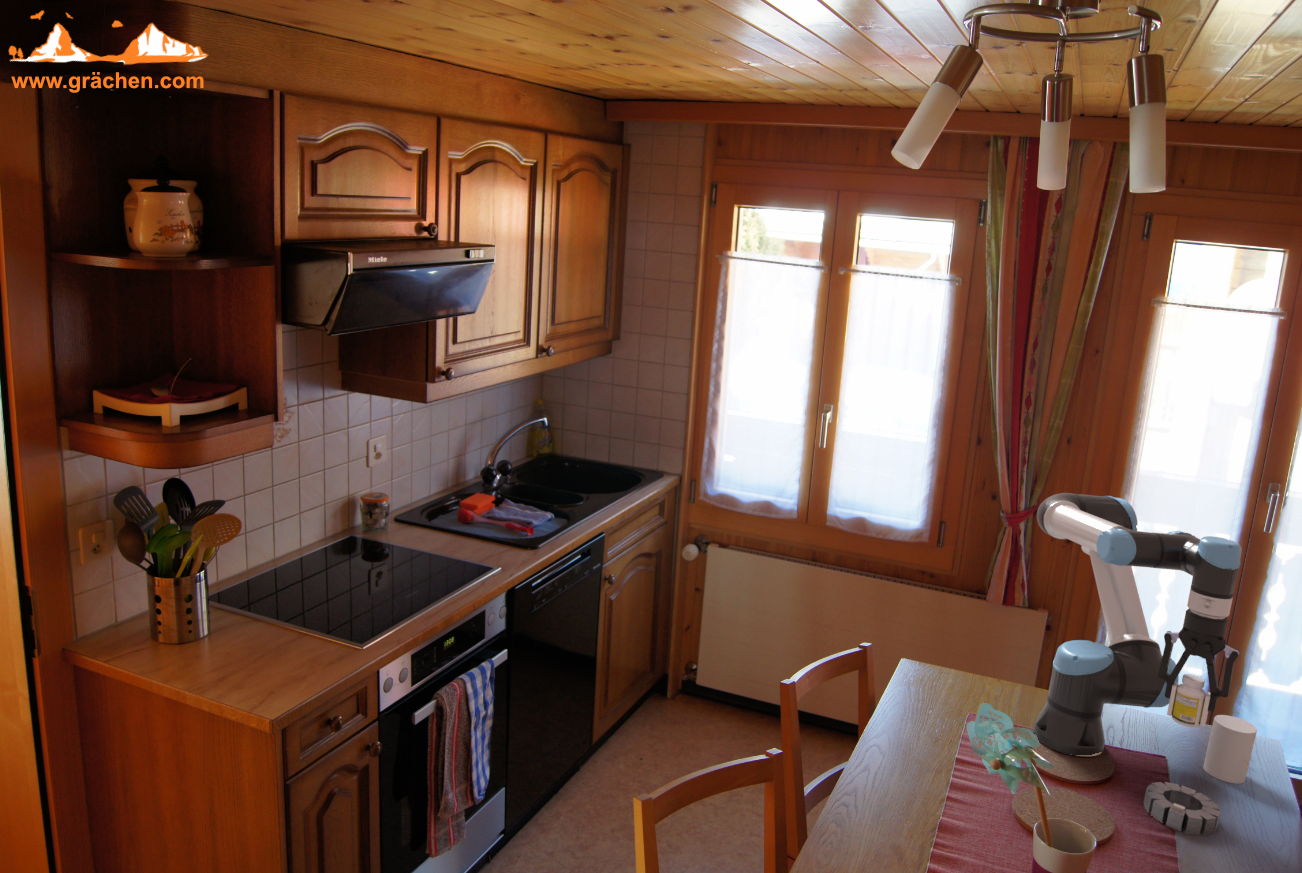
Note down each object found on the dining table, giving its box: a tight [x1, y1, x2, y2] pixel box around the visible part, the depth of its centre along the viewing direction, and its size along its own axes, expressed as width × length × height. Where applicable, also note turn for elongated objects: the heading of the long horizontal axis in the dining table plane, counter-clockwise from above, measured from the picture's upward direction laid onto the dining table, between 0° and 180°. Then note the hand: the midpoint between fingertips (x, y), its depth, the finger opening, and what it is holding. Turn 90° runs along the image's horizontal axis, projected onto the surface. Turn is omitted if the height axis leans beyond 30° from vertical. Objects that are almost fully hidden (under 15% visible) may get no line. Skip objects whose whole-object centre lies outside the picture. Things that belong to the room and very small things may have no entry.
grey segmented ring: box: [1143, 781, 1221, 836], centre depth 189 cm, size 13×13×4 cm
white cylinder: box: [1203, 714, 1258, 784], centre depth 208 cm, size 8×8×12 cm
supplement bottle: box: [1171, 673, 1207, 728], centre depth 194 cm, size 5×5×10 cm
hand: (1186, 718), depth 195 cm, fingers closed on supplement bottle, 5 cm apart
